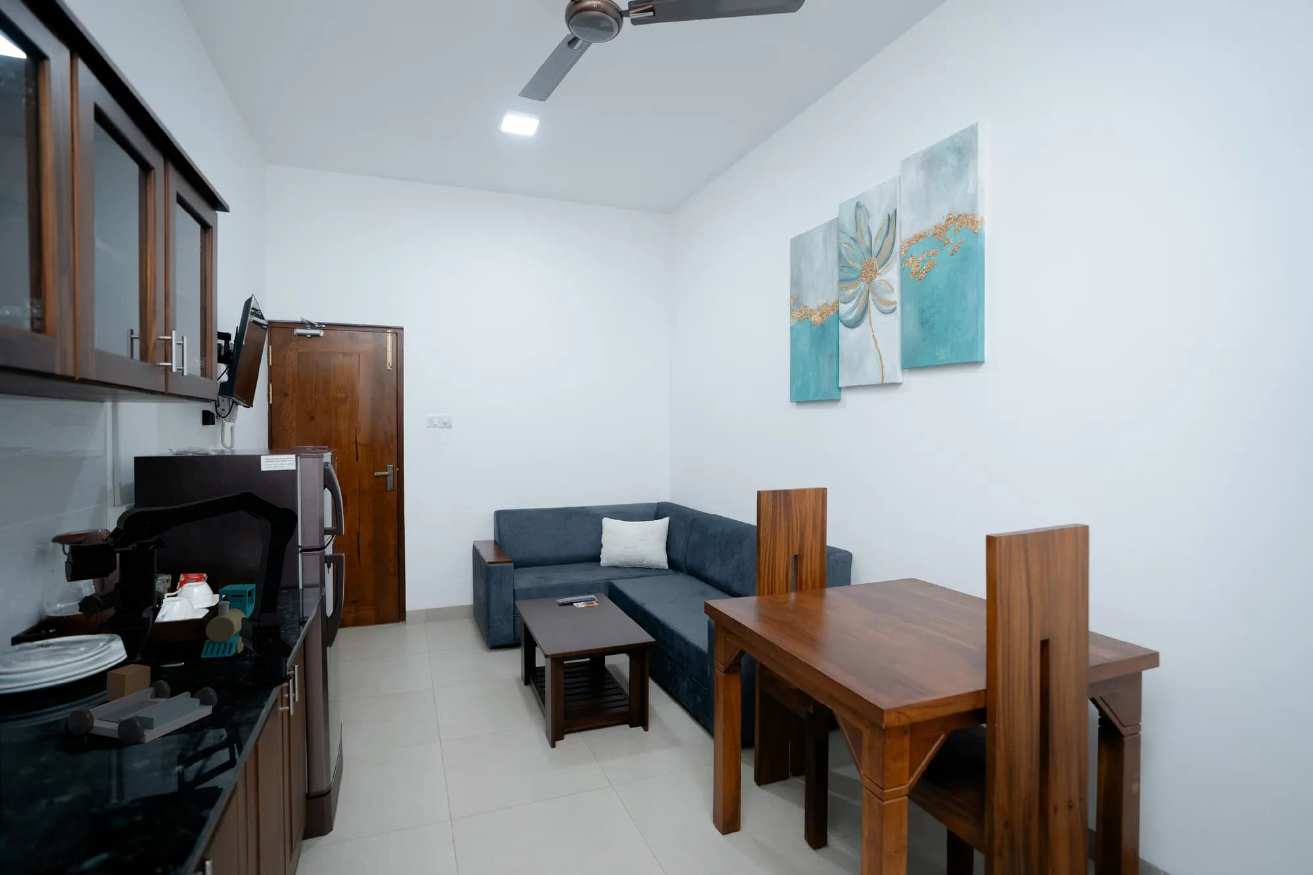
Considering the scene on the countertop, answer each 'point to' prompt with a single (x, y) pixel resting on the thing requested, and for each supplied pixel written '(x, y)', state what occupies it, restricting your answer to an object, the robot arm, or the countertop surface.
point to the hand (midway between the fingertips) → (136, 653)
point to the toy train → (229, 621)
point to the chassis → (143, 714)
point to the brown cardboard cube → (127, 681)
